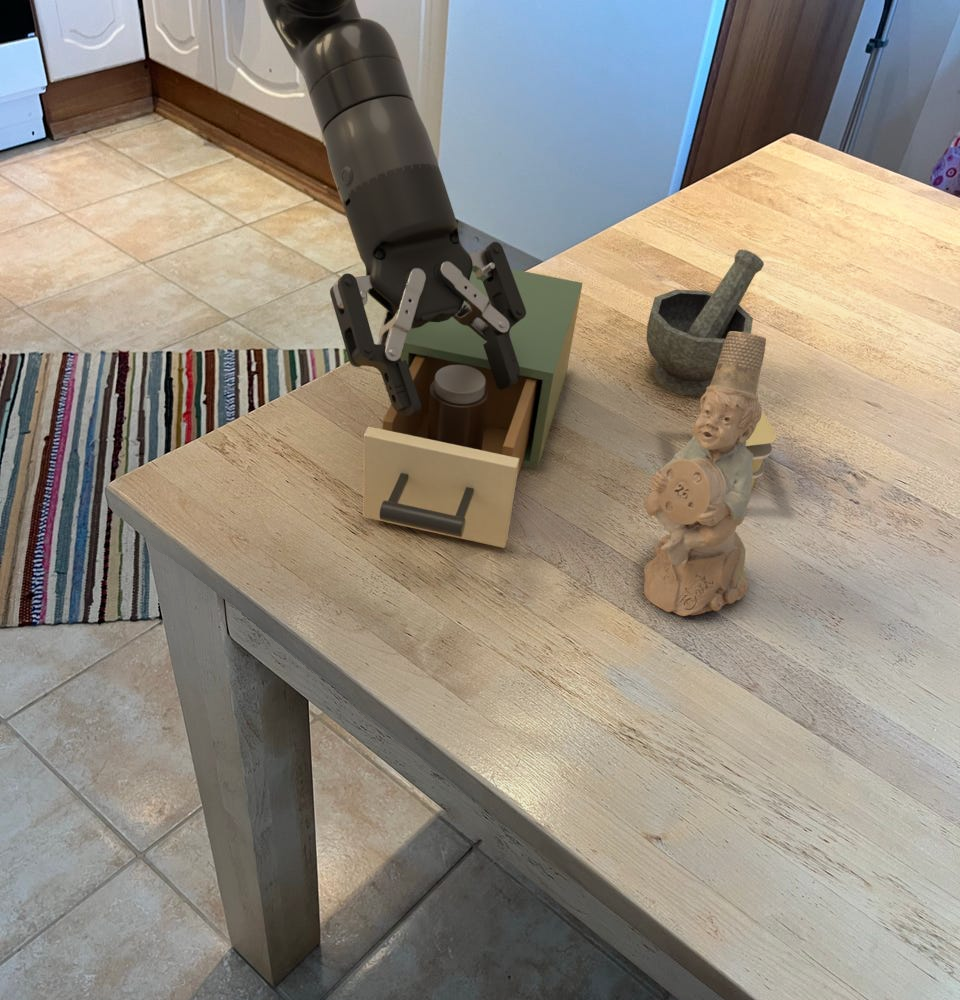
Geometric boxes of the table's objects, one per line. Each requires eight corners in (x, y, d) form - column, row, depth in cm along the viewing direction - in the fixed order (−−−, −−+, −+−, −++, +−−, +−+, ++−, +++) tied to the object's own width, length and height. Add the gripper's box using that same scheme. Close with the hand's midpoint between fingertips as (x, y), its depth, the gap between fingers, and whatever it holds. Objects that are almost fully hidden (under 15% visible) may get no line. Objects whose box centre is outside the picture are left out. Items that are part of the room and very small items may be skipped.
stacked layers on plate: (662, 438, 89) (677, 386, 85) (758, 444, 90) (777, 393, 86) (680, 509, 82) (697, 456, 78) (783, 515, 83) (805, 463, 79)
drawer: (491, 591, 72) (503, 509, 67) (343, 558, 73) (342, 474, 68) (537, 441, 86) (550, 363, 80) (411, 415, 86) (415, 335, 81)
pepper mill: (418, 485, 78) (424, 388, 72) (432, 453, 81) (439, 357, 75) (472, 496, 78) (482, 400, 71) (483, 464, 81) (495, 368, 74)
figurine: (676, 532, 80) (747, 307, 66) (762, 587, 77) (857, 362, 62) (608, 581, 76) (669, 350, 61) (697, 642, 72) (783, 412, 57)
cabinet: (537, 470, 84) (553, 373, 77) (395, 440, 85) (399, 341, 78) (565, 376, 95) (582, 282, 88) (439, 350, 96) (446, 255, 89)
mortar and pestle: (685, 418, 92) (720, 299, 83) (615, 370, 96) (641, 253, 87) (761, 383, 97) (801, 268, 88) (691, 340, 102) (723, 226, 93)
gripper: (451, 191, 78) (515, 390, 80) (285, 220, 72) (360, 435, 74) (494, 146, 71) (563, 365, 73) (316, 175, 65) (397, 412, 67)
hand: (461, 400), depth 73 cm, fingers open, 8 cm apart
